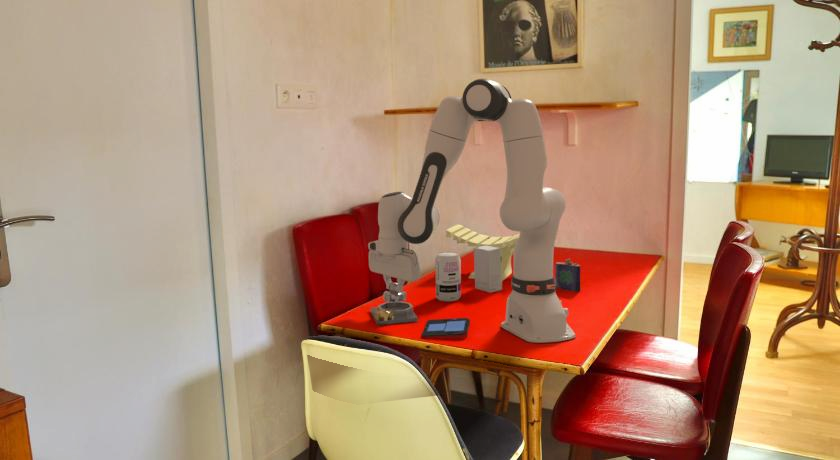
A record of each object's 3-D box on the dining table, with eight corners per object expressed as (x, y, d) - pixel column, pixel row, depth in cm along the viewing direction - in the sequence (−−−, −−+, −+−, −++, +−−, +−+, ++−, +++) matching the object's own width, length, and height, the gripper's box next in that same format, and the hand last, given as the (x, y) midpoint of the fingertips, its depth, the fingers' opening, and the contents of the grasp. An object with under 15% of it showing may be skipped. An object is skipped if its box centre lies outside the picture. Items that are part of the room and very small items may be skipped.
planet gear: (408, 301, 196) (408, 285, 195) (385, 303, 195) (384, 287, 194) (403, 295, 203) (403, 279, 202) (381, 297, 201) (381, 281, 201)
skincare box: (502, 290, 224) (502, 248, 221) (488, 293, 220) (488, 250, 218) (486, 285, 230) (486, 244, 228) (473, 288, 227) (473, 246, 225)
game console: (427, 323, 192) (427, 316, 191) (471, 324, 190) (470, 317, 189) (420, 340, 178) (420, 332, 177) (467, 341, 176) (466, 333, 175)
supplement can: (447, 293, 221) (447, 250, 218) (465, 298, 215) (465, 253, 213) (430, 298, 215) (430, 254, 213) (449, 303, 210) (448, 257, 207)
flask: (553, 288, 225) (554, 257, 223) (557, 286, 227) (558, 256, 225) (578, 292, 219) (579, 261, 217) (582, 290, 221) (583, 259, 220)
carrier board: (418, 321, 192) (418, 311, 191) (377, 325, 189) (377, 314, 189) (408, 308, 205) (408, 298, 205) (370, 311, 203) (369, 301, 202)
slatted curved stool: (535, 272, 247) (536, 226, 244) (525, 282, 233) (525, 233, 230) (460, 267, 259) (460, 222, 256) (446, 276, 245) (446, 229, 242)
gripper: (424, 249, 190) (425, 295, 193) (380, 240, 205) (381, 282, 208) (408, 252, 186) (409, 299, 189) (364, 242, 201) (365, 286, 204)
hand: (394, 290), depth 198 cm, fingers closed on planet gear, 3 cm apart
